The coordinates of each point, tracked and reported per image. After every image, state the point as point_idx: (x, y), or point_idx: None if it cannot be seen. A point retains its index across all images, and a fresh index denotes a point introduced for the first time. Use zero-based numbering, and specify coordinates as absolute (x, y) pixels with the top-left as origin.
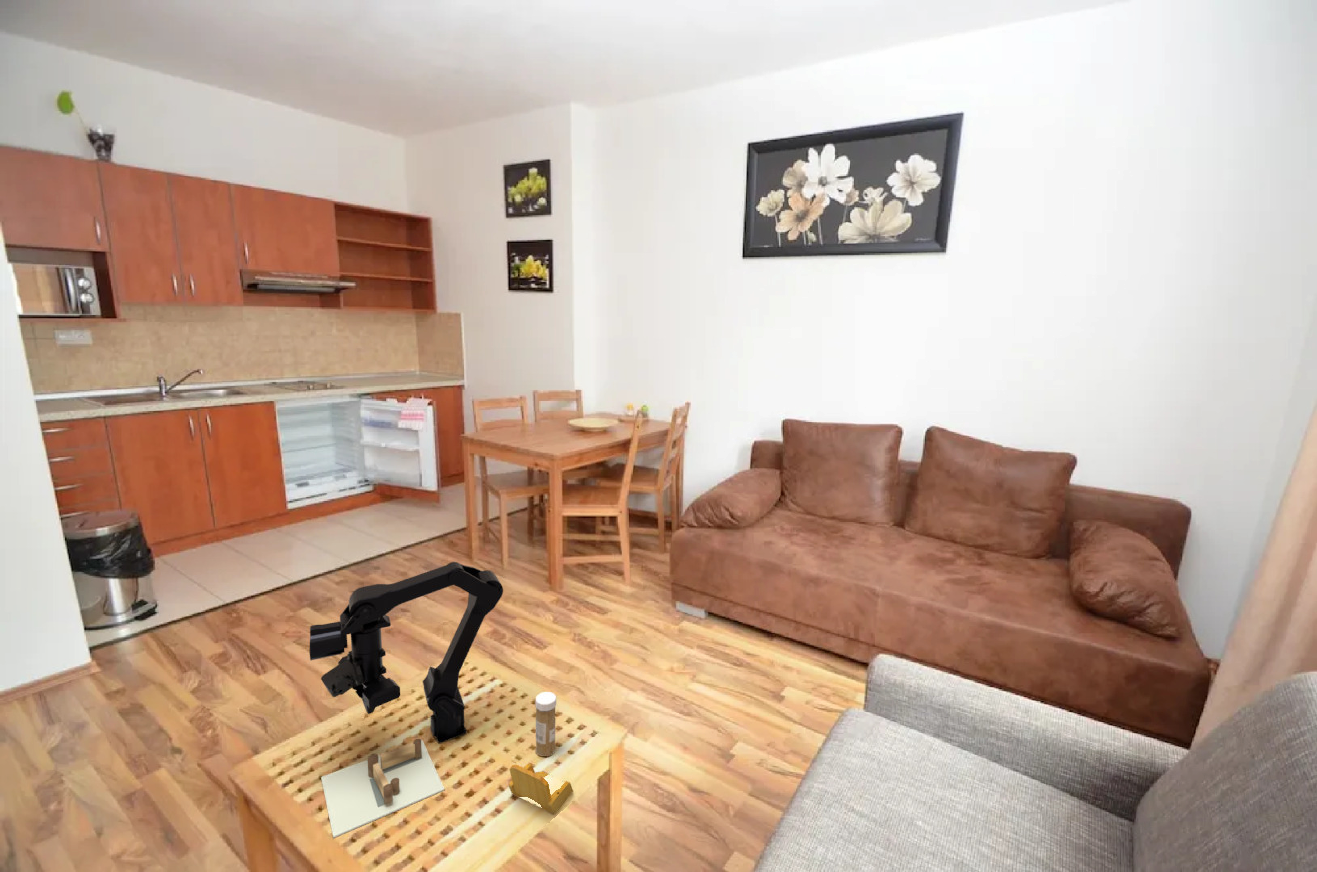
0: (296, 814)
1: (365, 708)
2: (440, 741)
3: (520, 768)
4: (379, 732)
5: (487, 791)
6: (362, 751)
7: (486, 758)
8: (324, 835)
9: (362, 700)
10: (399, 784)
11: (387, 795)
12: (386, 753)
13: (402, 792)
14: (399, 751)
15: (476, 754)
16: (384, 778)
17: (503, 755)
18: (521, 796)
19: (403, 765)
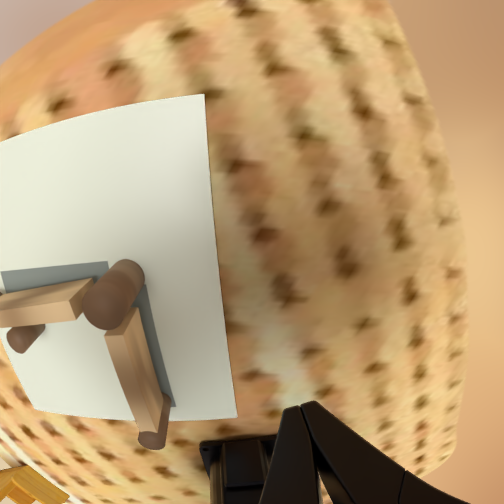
0: (75, 42)
1: (325, 424)
2: (199, 448)
3: None
4: (357, 309)
5: (32, 449)
6: (286, 248)
7: (114, 480)
8: None
9: (380, 468)
10: (61, 337)
11: None
12: (121, 355)
13: None
14: (124, 391)
15: (131, 475)
16: (4, 322)
17: (116, 494)
18: (19, 469)
19: None
